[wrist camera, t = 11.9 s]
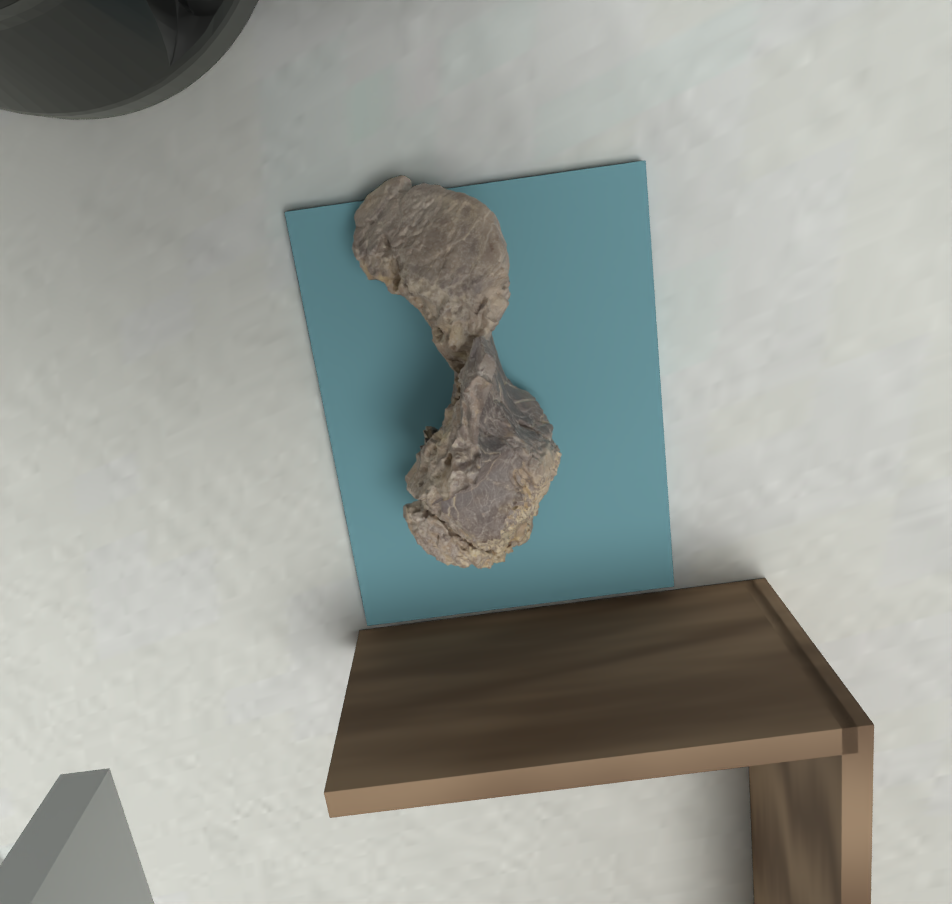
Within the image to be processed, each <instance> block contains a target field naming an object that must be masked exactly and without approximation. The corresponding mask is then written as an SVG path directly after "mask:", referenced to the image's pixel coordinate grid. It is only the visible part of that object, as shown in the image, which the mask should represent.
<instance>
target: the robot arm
mask: <svg viewBox="0 0 952 904" xmlns="http://www.w3.org/2000/svg"><path fill="white" fill-rule="evenodd" d="M257 2H258V0H0V109H2V110H6V111H11V112H16V113H21V114H29V115H36V116H44V117H52V118H60V119H76V120H78V119H99V118H109V117H114V116H119V115H125V114H128V113H132V112H135V111H139V110H142V109H145V108H147V107H150V106H153V105H155V104H157V103H159V102H162V101H164V100H166V99H168V98H170V97H172V96H173V95H175V94H177V93H178V92H180V91H182V90H183V89H185V88H186V87H188V86H189V85H191V84H192V83H193V82H195V81H196V80H197V79H199V78H200V77H201V76H202V75H203V74H205V73H206V72H207V71H208V70H209V69H210V68H211V67H212V66H213V65H214V64H215V63H216V62H217V61H218V60H219V59H220V58H221V57H222V56H223V55H224V53H225V52H226V51H227V50H228V49H229V48H230V46H231V45H232V44H233V42H234V41H235V40H236V38H237V37H238V35H239V34H240V33H241V31H242V29H243V28H244V26H245V24H246V23H247V21H248V20H249V18H250V16H251V14H252V12H253V10H254V8H255V6H256V4H257ZM0 904H154V901H153V898H152V895H151V892H150V889H149V886H148V883H147V880H146V877H145V874H144V871H143V868H142V865H141V862H140V859H139V856H138V853H137V850H136V847H135V844H134V841H133V838H132V835H131V832H130V829H129V826H128V823H127V820H126V817H125V814H124V811H123V808H122V805H121V802H120V799H119V796H118V793H117V790H116V787H115V784H114V781H113V778H112V775H111V771H110V768H109V769H101V770H93V771H85V772H77V773H69V774H61V775H60V776H59V777H58V779H57V781H56V782H55V784H54V785H53V787H52V788H51V790H50V791H49V793H48V794H47V796H46V797H45V799H44V800H43V802H42V803H41V805H40V806H39V808H38V809H37V811H36V812H35V814H34V815H33V817H32V818H31V820H30V821H29V823H28V824H27V826H26V827H25V829H24V831H23V832H22V834H21V835H20V837H19V838H18V840H17V841H16V843H15V844H14V846H13V847H12V849H11V850H10V852H9V853H8V855H7V856H6V858H5V859H4V861H3V862H2V864H1V865H0Z"/></svg>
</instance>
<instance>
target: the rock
mask: <svg viewBox="0 0 952 904" xmlns="http://www.w3.org/2000/svg"><path fill="white" fill-rule="evenodd" d="M354 220H355V224H356V228H355V231H354V235H353V238H354V242H353V244H352V250H353V253H354V256H355V258H356V259H357V260H358V261H359V264H360V268H362V270H363V272H364V273H365V274H366V276H367V278H368V280H379V281H381V282H383V283H385V284H386V286H387V289H388V291H389V292H390V293H391V294H397V295H402V296H403V297H405V298H406V299H407V300H408V301H409V302H410V303H411V304H412V305H413V306H414V307H416V308H417V309H418V310H419V311H420V312H421V314H422V316H423V317H424V318H425V320H426V321H427V322H428V324H429V326H430V327H431V328H432V335H433V339H432V341H433V342H434V344H435V346H436V347H437V349H438V351H439V352H440V353H441V354H442V356H443V357H444V358H445V359H446V361H447V362H448V364H449V366H450V368H451V369H452V370H454V384H453V392H452V397H451V404H449V405H448V407H447V408H446V409H445V418H444V421H443V422H442V427H440V429H439V430H438V429H436V428H435V427H432V426H426V427H425V428H426V430H423V433H424V437H425V439H424V440H425V445H421V446H420V451H419V452H418V453H417V454H416V459H417V461H416V462H415V464H414V465H413V466H412V468H411V470H410V471H409V472H408V474H407V475H406V476H405V481H406V483H407V488H406V489H407V491H408V492H409V493H410V494H411V495H412V496H413V497H414V498H415V499H417V500H418V501H414V502H412V503H407V504H405V505H404V506H403V517H404V518H405V520H406V522H407V524H408V528H409V529H410V531H411V534H412V535H413V536H414V538H415V539H416V542H417V544H418V545H420V546H421V547H422V548H423V549H424V550H425V551H426V553H427V554H429V555H432V556H434V557H436V560H438V561H440V562H442V563H444V564H446V565H450V564H452V565H454V566H459V567H460V568H467V567H469V566H470V565H471V564H473V565H474V566H475V567H477V568H478V569H479V568H480V569H482V568H489V569H490V568H491V566H492V565H493V564H494V563H499V562H505V557H506V553H507V554H509V553H510V552H513V549H512V547H515V546H521V545H522V544H524V543H526V542H527V541H528V540H529V539H530V535H531V532H532V529H533V518H534V517H533V516H537V515H538V512H539V511H538V508H539V502H540V501H541V500H542V499H543V498H544V495H546V494H547V492H548V490H549V487H550V481H553V479H554V476H556V475H557V469H558V467H559V464H560V459H561V455H562V454H561V453H560V452H559V451H560V449H559V448H558V445H556V443H554V441H553V440H552V434H553V433H552V431H553V429H554V428H553V426H552V424H550V422H549V420H548V419H547V416H546V415H545V414H544V413H543V410H542V408H541V407H540V404H539V403H538V402H537V401H536V398H535V397H533V396H532V395H531V394H530V393H529V392H527V391H525V390H522V389H519V388H517V387H516V386H514V385H513V384H512V382H511V381H510V380H509V379H508V378H507V377H506V375H505V373H504V371H503V369H502V366H501V363H500V360H499V357H498V353H497V350H496V347H495V344H494V340H493V337H492V331H494V330H495V328H496V326H497V325H498V324H499V321H500V320H501V318H502V316H503V314H504V312H505V311H506V308H507V307H508V305H509V301H508V300H509V298H510V295H511V293H510V292H509V288H508V287H509V286H510V281H509V275H508V274H509V267H510V263H509V256H508V252H507V248H506V247H507V244H506V241H505V239H504V237H503V234H502V232H501V227H500V223H499V221H498V219H497V217H496V215H495V214H494V213H493V211H491V210H490V209H489V208H488V207H487V206H486V205H485V204H483V203H482V202H480V201H479V200H477V199H476V198H474V197H471V196H469V195H467V194H465V193H461V192H455V191H452V190H447V189H445V188H443V187H442V186H440V185H436V184H435V185H429V184H426V183H422V184H419V185H415V186H413V187H412V185H411V180H410V179H409V178H407V177H406V176H403V175H400V176H398V177H394V178H390V179H389V180H387V181H385V182H384V183H383V184H382V185H380V186H379V187H378V188H377V189H375V190H374V191H373V192H371V193H370V194H368V195H367V196H366V199H365V200H364V202H363V203H362V204H361V205H360V207H359V208H358V209H357V211H356V212H355V215H354Z"/></svg>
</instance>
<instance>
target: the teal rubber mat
mask: <svg viewBox="0 0 952 904" xmlns="http://www.w3.org/2000/svg"><path fill="white" fill-rule="evenodd" d="M447 190H452V191H455V192H461V193H465V194H467V195H469V196H471V197H474V198H476V199H477V200H479V201H480V202H482V203H483V204H485V205H486V206H487V207H488V208H489V209H490V210H491V211H493V213H494V214H495V215H496V217H497V219H498V221H499V223H500V227H501V232H502V234H503V237H504V239H505V241H506V244H507V247H506V248H507V252H508V256H509V263H510V267H509V274H508V275H509V281H510V286H509V287H508V288H509V292H510V293H511V295H510V298H509V300H508V301H509V305H508V307H507V308H506V311H505V312H504V314H503V316H502V318H501V320H500V321H499V324H498V325H497V326H496V328H495V330H494V331H492V337H493V340H494V344H495V347H496V350H497V353H498V357H499V360H500V363H501V366H502V369H503V371H504V373H505V375H506V377H507V378H508V379H509V380H510V381H511V382H512V384H513V385H514V386H516V387H517V388H519V389H522V390H525V391H527V392H529V393H530V394H531V395H532V396H533V397H535V398H536V401H537V402H538V403H539V404H540V407H541V408H542V410H543V413H544V414H545V415H546V416H547V419H548V420H549V422H550V424H552V426H553V428H554V429H553V431H552V433H553V434H552V440H553V441H554V443H556V445H558V448H559V449H560V451H559V452H560V453H561V454H562V455H561V459H560V464H559V467H558V469H557V475H556V476H554V479H553V481H550V487H549V490H548V492H547V494H546V495H544V498H543V499H542V500H541V501H540V502H539V508H538V511H539V512H538V515H537V516H533V517H534V518H533V529H532V532H531V535H530V539H529V540H528V541H527V542H526V543H524V544H522V545H521V546H515V547H512V549H513V552H510V553H509V554H507V553H506V557H505V562H499V563H494V564H493V565H492V566H491V568H490V569H489V568H482V569H480V568H479V569H478V568H477V567H475V566H474V565H473V564H471V565H470V566H469V567H467V568H460V567H459V566H454V565H452V564H450V565H446V564H444V563H442V562H440V561H438V560H436V557H434V556H432V555H429V554H427V553H426V551H425V550H424V549H423V548H422V547H421V546H420V545H418V544H417V542H416V539H415V538H414V536H413V535H412V534H411V531H410V529H409V528H408V524H407V522H406V520H405V518H404V517H403V506H404V505H405V504H407V503H412V502H414V501H418V500H417V499H415V498H414V497H413V496H412V495H411V494H410V493H409V492H408V491H407V489H406V488H407V483H406V481H405V476H406V475H407V474H408V472H409V471H410V470H411V468H412V466H413V465H414V464H415V462H416V461H417V459H416V454H417V453H418V452H419V451H420V446H421V445H425V440H424V439H425V437H424V433H423V430H426V428H425V427H426V426H432V427H435V428H436V429H438V430H439V429H440V427H442V422H443V421H444V418H445V409H446V408H447V407H448V405H449V404H451V397H452V392H453V384H454V370H452V369H451V368H450V366H449V364H448V362H447V361H446V359H445V358H444V357H443V356H442V354H441V353H440V352H439V351H438V349H437V347H436V346H435V344H434V342H433V341H432V339H433V335H432V328H431V327H430V326H429V324H428V322H427V321H426V320H425V318H424V317H423V316H422V314H421V312H420V311H419V310H418V309H417V308H416V307H414V306H413V305H412V304H411V303H410V302H409V301H408V300H407V299H406V298H405V297H403V296H402V295H397V294H391V293H390V292H389V291H388V289H387V286H386V284H385V283H383V282H381V281H379V280H368V278H367V276H366V274H365V273H364V272H363V270H362V268H360V264H359V261H358V260H357V259H356V258H355V256H354V253H353V250H352V244H353V242H354V238H353V235H354V231H355V228H356V224H355V220H354V215H355V212H356V211H357V209H358V208H359V207H360V205H361V204H362V203H363V202H364V200H363V201H356V202H349V203H342V204H335V205H328V206H321V207H314V208H307V209H300V210H293V211H287V212H285V217H286V222H287V227H288V232H289V237H290V242H291V247H292V252H293V257H294V262H295V267H296V272H297V277H298V282H299V287H300V292H301V297H302V302H303V307H304V312H305V317H306V322H307V327H308V332H309V337H310V342H311V347H312V352H313V357H314V362H315V367H316V372H317V377H318V382H319V387H320V392H321V397H322V402H323V407H324V412H325V417H326V422H327V427H328V431H329V436H330V441H331V446H332V451H333V456H334V461H335V466H336V471H337V476H338V481H339V486H340V491H341V496H342V501H343V506H344V511H345V516H346V521H347V526H348V531H349V536H350V541H351V546H352V551H353V556H354V561H355V566H356V571H357V576H358V581H359V586H360V591H361V596H362V601H363V606H364V611H365V616H366V621H367V626H371V625H379V624H386V623H394V622H402V621H410V620H417V619H425V618H433V617H441V616H448V615H456V614H464V613H472V612H480V611H487V610H495V609H503V608H511V607H518V606H526V605H534V604H542V603H549V602H557V601H565V600H573V599H580V598H588V597H596V596H604V595H611V594H619V593H627V592H635V591H642V590H650V589H658V588H666V587H674V576H673V561H672V547H671V532H670V517H669V502H668V487H667V472H666V458H665V443H664V428H663V413H662V398H661V383H660V369H659V354H658V339H657V324H656V309H655V294H654V280H653V265H652V250H651V235H650V220H649V206H648V191H647V176H646V161H637V162H630V163H623V164H616V165H609V166H602V167H595V168H588V169H581V170H574V171H567V172H560V173H553V174H546V175H539V176H532V177H525V178H518V179H511V180H504V181H497V182H490V183H483V184H476V185H469V186H462V187H455V188H448V189H447Z"/></svg>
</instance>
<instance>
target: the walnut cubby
mask: <svg viewBox="0 0 952 904" xmlns="http://www.w3.org/2000/svg"><path fill="white" fill-rule="evenodd" d="M873 751H874V724H873V723H872V721H871V720H870V719H869V717H868V716H867V715H866V713H865V712H864V711H863V709H862V708H861V707H860V705H859V704H858V702H857V701H856V700H855V698H854V697H853V696H852V694H851V693H850V692H849V690H848V689H847V688H846V686H845V685H844V684H843V682H842V681H841V680H840V678H839V677H838V676H837V674H836V673H835V672H834V670H833V669H832V667H831V666H830V665H829V663H828V662H827V661H826V659H825V658H824V657H823V655H822V654H821V653H820V651H819V650H818V649H817V647H816V646H815V645H814V643H813V642H812V641H811V639H810V638H809V636H808V635H807V634H806V632H805V631H804V630H803V628H802V627H801V626H800V624H799V623H798V622H797V620H796V619H795V618H794V616H793V615H792V614H791V612H790V611H789V610H788V608H787V607H786V606H785V604H784V603H783V601H782V600H781V599H780V597H779V596H778V595H777V593H776V592H775V591H774V589H773V588H772V587H771V585H770V584H769V583H768V581H767V580H766V579H765V578H763V579H755V580H747V581H739V582H732V583H724V584H716V585H708V586H701V587H693V588H685V589H677V590H669V591H662V592H654V593H646V594H638V595H631V596H623V597H615V598H607V599H600V600H592V601H584V602H576V603H568V604H561V605H553V606H545V607H537V608H530V609H522V610H514V611H506V612H499V613H491V614H483V615H475V616H467V617H460V618H452V619H444V620H436V621H429V622H421V623H413V624H405V625H398V626H390V627H382V628H374V629H367V630H359V635H358V640H357V644H356V649H355V653H354V658H353V662H352V667H351V671H350V676H349V681H348V685H347V690H346V694H345V699H344V703H343V708H342V713H341V717H340V722H339V726H338V731H337V735H336V740H335V744H334V749H333V754H332V758H331V763H330V767H329V772H328V776H327V781H326V786H325V790H324V795H325V799H326V804H327V808H328V812H329V816H330V818H332V817H340V816H348V815H357V814H365V813H373V812H381V811H389V810H397V809H405V808H414V807H422V806H430V805H438V804H446V803H454V802H462V801H471V800H479V799H487V798H495V797H503V796H511V795H519V794H528V793H536V792H544V791H552V790H560V789H568V788H576V787H585V786H593V785H601V784H609V783H617V782H625V781H633V780H642V779H650V778H658V777H666V776H674V775H682V774H690V773H698V772H707V771H715V770H723V769H731V768H739V767H747V766H749V782H750V807H751V833H752V859H753V885H754V904H871V862H872V806H873Z"/></svg>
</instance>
